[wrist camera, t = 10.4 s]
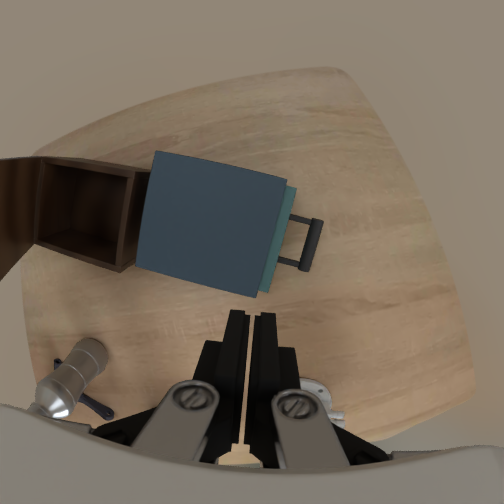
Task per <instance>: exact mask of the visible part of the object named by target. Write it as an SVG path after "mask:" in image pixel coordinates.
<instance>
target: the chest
mask: <svg viewBox="0 0 504 504" xmlns="http://www.w3.org/2000/svg"><path fill="white" fill-rule="evenodd" d="M41 162H42V163H41V167H40V173H39V180H38V188H37V197H36V208H35V223H34V244H36V245H39V246H42V247H45V248H47V249H50V250H53V251H56V252H58V253H61V254H64V255H67V256H70V257H73V258H76V259H79V260H81V261H84V262H87V263H90V264H93V265H96V266H99V267H103V268H106V269H109V270H112V271H115V272H118V273H121V272H122V271H124V270H125V269H127V268H128V267H130V266H131V265H133V264H134V263H135V262H136V256H137V248H138V241H139V234H140V228H141V221H142V215H143V210H144V204H145V198H146V193H147V188H148V183H149V178H150V173H151V170H147V169H142V168H137V167H131V166H125V165H120V164H114V163H108V162H102V161H95V160H89V159H82V158H70V157H47V156H43V157H42V161H41Z"/></svg>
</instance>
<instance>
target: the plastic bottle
mask: <svg viewBox="0 0 504 504" xmlns="http://www.w3.org/2000/svg"><path fill="white" fill-rule="evenodd" d="M107 363H108V355H107V352H106V350H105V348H104V347H103V346H102V344H100V343H99V342H98V341H96V340H94V339H88V338H86V339H82V340H81V341H79V342H77V343H76V345H75V346H74V347H73V349H72V351H71V353H70V354H69V355H68V357H67V358H66V359H65V361H64V362H63V363H62V364H61V365H60V366H59V367H58V368H57V369H56V370H54V371H53V372H52V373H51V374H49V375H48V376H46V377H45V378H44V379H42V380H41V381H40V382H39V383H38V385H37V387H36V393H35V402H33V403H32V404H31V405H30V407H29V408H28V409H27V410H28V411H31V412H33V413H36V414H39V415H43V416H47V417H52V418H56V419H59V418H65V417H67V416H69V415H70V414H71V413H72V412H73V410H74V408H75V406H76V404H77V402H78V400H79V398H80V396H81V394H82V393H83V391H84V389H85V388H86V386H87V385H88V384H89V383H90V382H91V381H92V380H93V379H94V378H95V377H96V376H97V375H99V374H100V373H101V372H102V371H103V370H104V369H105V367H106V365H107Z"/></svg>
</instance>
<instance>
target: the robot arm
mask: <svg viewBox="0 0 504 504" xmlns="http://www.w3.org/2000/svg"><path fill="white" fill-rule="evenodd" d="M249 325H250V315H245V311H242V310H232V309H231V310H230V314H229V318H228V322H227V326H226V330H225V334H224V338H223V342H218V341H210V340H206V341H205V344H204V346H203V349H202V352H201V355H200V358H199V361H198V364H197V367H196V370H195V373H194V376H193V379H192V380H185V381H182V382H179V383H177V384H175V385H173V386H172V387H171V388H170V389H169V391H168V392H167V393H166V395H165V396H164V398H163V399H162V401H161V402H160V404H159V405H158V407H155V408H152V409H149V410H147V411H144V412H141V413H138V414H135V415H132V416H129V417H126V418H123V419H120V420H116V421H113V422H110V423H107V424H104V425H101V426H99V427H97V428H96V429H93V428H92V427H91V425H89V424H83V423H77V422H71V421H66V420H61V419H56V418H52V417H47V416H43V415H39V414H36V413H33V412H31V411H28V410H25V409H22V408H18V407H14V406H11V405H7V404H0V504H504V448H502V447H497V446H491V445H474V446H464V447H457V448H451V449H445V450H434V451H433V450H432V451H392V452H391V454H386V453H385V452H384V451H383V450H381V449H380V448H378V447H376V446H374V445H372V444H370V443H368V442H367V441H365V440H363V439H361V438H359V437H357V436H355V435H353V434H352V433H350V432H348V431H346V430H344V427H345V420H340V419H334V420H333V419H330V418H331V417H332V418H341V419H343V417H344V411H332V409H331V405H332V400H331V395H330V393H329V391H328V389H327V388H326V387H325V386H324V385H323V384H321V383H319V382H317V381H315V380H312V379H306V378H299V372H298V366H297V359H296V353H295V348H291V347H278V339H277V326H276V314H275V313H266V312H261V316H256V315H255V321H254V331H253V342H252V352H251V362H250V373H249V384H248V397H247V410H246V422H245V434H244V444H248V445H250V453H251V454H253V455H254V456H255V457H256V458H258V459H259V460H260V468H247V467H236V466H226V465H218V461H219V457H220V456H222V455H224V454H226V453H227V452H231V447H232V443H236V444H238V442H239V432H240V422H241V412H242V402H243V392H244V382H245V371H246V360H247V348H248V337H249Z"/></svg>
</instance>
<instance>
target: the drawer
mask: <svg viewBox="0 0 504 504" xmlns="http://www.w3.org/2000/svg"><path fill="white" fill-rule="evenodd" d="M296 190H297V188H294V187H290V186H286V187H285V191H284V195H283V198H282V202H281V206H280V210H279V214H278V217H277V221H276V225H275V229H274V233H273V236H272V240H271V244H270V247H269V251H268V255H267V259H266V262H265V266H264V270H263V273H262V277H261V281H260V284H259V288H258V290H259V291H263V292H267V293H268V291H269V288H270V284H271V281H272V277H273V274H274V270H275V267H276V263H277V262H278V263H282V264H286V265H290V266H294V267H298V269H299V270H301V271H304V272H309V270H310V267H311V264H312V260H313V257H314V254H315V251H316V247H317V244H318V241H319V237H320V234H321V230H322V227H323V223H324V221H322V220H319V219H315V218H312V220H311V219H308V218H304V217H300V216H297V215H293V214H290V212H291V209H292V205H293V201H294V197H295V193H296ZM288 220H293V221H297V222H301V223H304V224H308V225H310V227H309V230H308V234H307V237H306V241H305V244H304V248H303V251H302V255H301V258H300V261H296V260H292V259H288V258H284V257H280V256H279V252H280V249H281V245H282V242H283V238H284V234H285V231H286V227H287V223H288Z"/></svg>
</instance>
